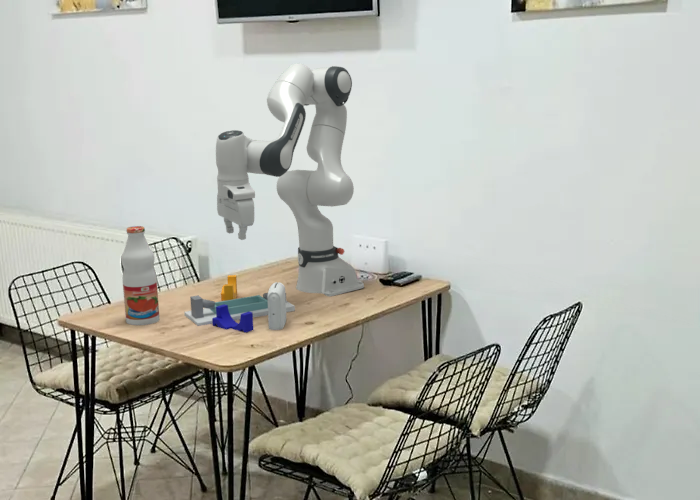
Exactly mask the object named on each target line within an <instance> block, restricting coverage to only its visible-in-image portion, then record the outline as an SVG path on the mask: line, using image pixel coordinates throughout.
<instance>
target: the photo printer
mask: <svg viewBox="0 0 700 500" xmlns="http://www.w3.org/2000/svg"><path fill="white" fill-rule="evenodd" d="M267 291H268V292H267V293H268V296H267V298H268V315H267V316H268V317H267V318H268V330H271V331H279V330H280V331H281V330H283V328H284V327H285V325H286V322H287V312H286V301H287V294H286V295H285V293H286V286H285V285H284V284H283V283H282V282H280V281H279V282H277V281H275V282H273V283H272V284H271V285H270V287H269V288H268V290H267Z"/></svg>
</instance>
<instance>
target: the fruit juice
mask: <svg viewBox="0 0 700 500" xmlns="http://www.w3.org/2000/svg"><path fill="white" fill-rule="evenodd" d="M145 232H146V230H145V226H141V225H133V226H128V227H127V228H126V234H127V240H126V243H125V246H124V250H123V252H122V254H121V259H120V261H121V264H122V267H123V272H122V279H121V280H122V290H123V291H122V292H123V303H124V314H125V322H126V324H128V325H132V326H146V325H147V326H148V325H151V324H154V323H155V324H156V323H157V322H159V321H160V305H159V293H158V277H157V273H156V269H155V267H154V264H155V254H154V252H153V250H152V249H151V247H150V245H149V243H148V241H147V239H146V237H145Z"/></svg>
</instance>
